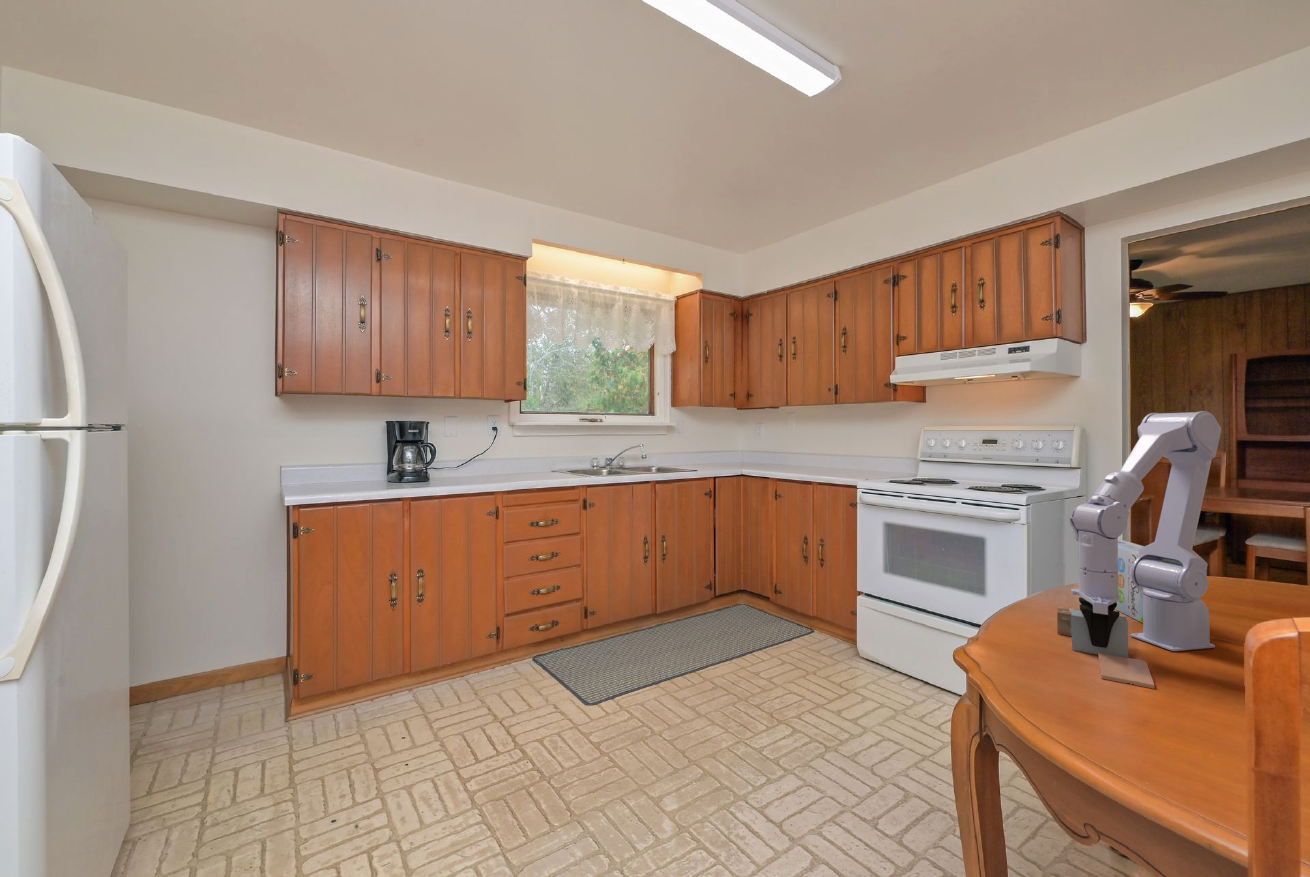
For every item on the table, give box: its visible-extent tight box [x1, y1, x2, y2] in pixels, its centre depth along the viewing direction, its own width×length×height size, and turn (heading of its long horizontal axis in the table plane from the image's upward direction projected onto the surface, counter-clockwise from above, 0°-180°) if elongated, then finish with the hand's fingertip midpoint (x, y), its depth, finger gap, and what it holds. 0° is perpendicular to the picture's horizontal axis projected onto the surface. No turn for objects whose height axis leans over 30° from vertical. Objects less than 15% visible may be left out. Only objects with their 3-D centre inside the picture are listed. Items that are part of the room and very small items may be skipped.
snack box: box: [1114, 539, 1182, 624], centre depth 121 cm, size 21×6×15 cm, turn 168°
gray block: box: [1071, 609, 1129, 658], centre depth 103 cm, size 4×8×6 cm, turn 54°
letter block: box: [1056, 606, 1081, 637], centre depth 112 cm, size 5×4×5 cm
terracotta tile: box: [1097, 653, 1155, 690], centre depth 94 cm, size 11×6×1 cm, turn 144°
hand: (1098, 642), depth 103 cm, fingers closed on gray block, 4 cm apart
